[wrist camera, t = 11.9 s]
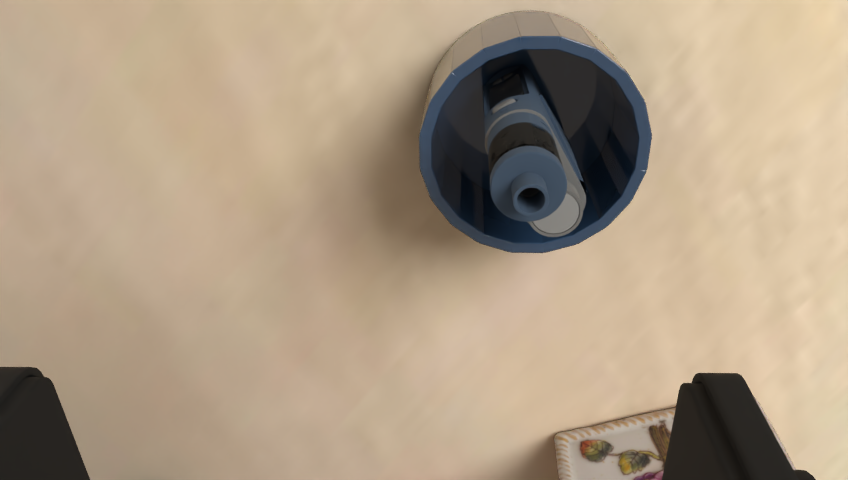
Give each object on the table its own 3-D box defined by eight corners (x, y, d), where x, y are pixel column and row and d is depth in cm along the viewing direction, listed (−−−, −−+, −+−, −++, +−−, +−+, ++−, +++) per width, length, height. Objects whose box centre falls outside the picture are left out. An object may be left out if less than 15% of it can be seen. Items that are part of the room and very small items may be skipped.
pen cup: (425, 11, 30) (416, 36, 25) (634, 9, 29) (667, 35, 24) (428, 198, 34) (421, 251, 29) (611, 200, 33) (635, 254, 28)
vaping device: (523, 49, 30) (552, 144, 19) (574, 149, 32) (626, 284, 21) (471, 79, 30) (471, 185, 20) (524, 174, 32) (550, 317, 22)
